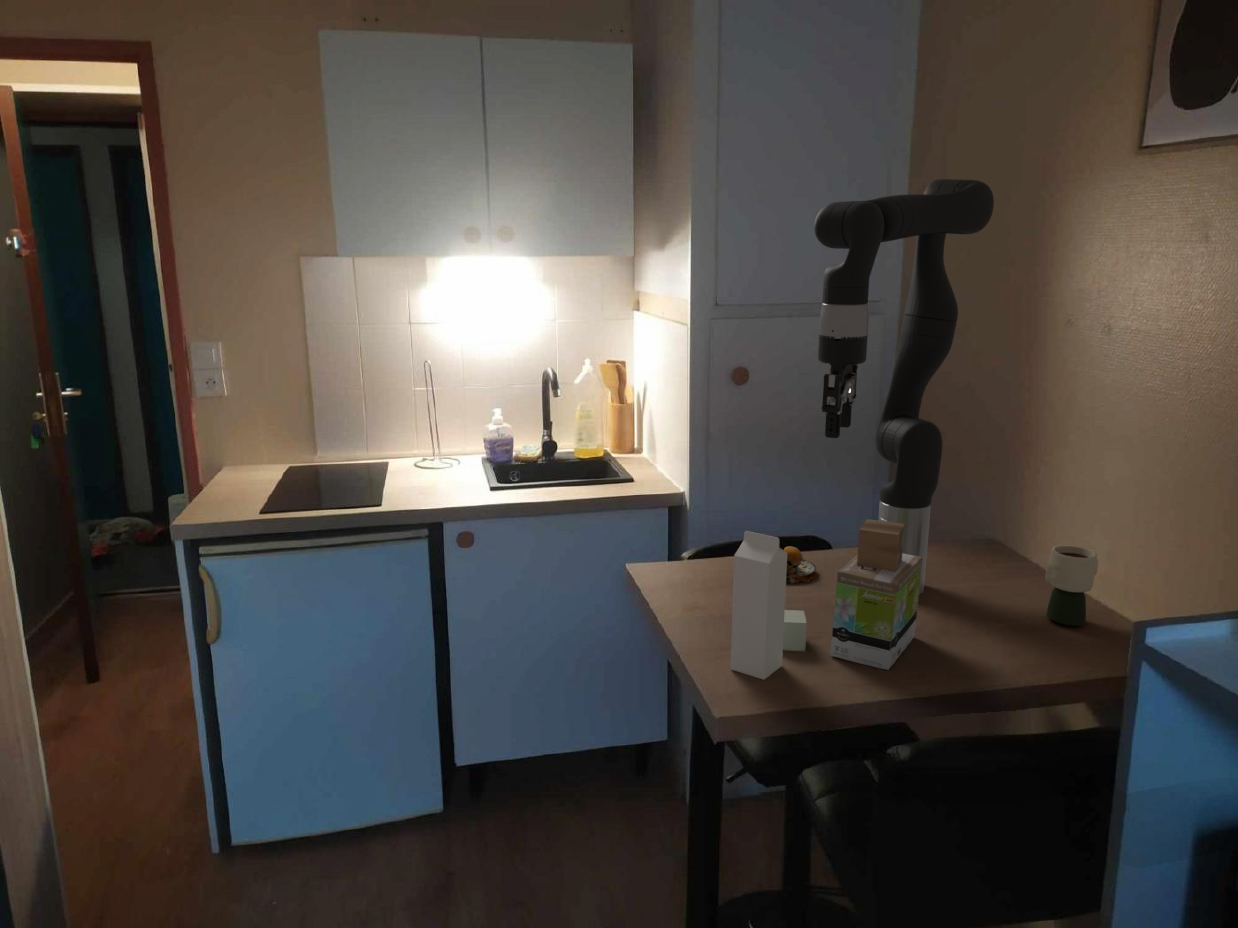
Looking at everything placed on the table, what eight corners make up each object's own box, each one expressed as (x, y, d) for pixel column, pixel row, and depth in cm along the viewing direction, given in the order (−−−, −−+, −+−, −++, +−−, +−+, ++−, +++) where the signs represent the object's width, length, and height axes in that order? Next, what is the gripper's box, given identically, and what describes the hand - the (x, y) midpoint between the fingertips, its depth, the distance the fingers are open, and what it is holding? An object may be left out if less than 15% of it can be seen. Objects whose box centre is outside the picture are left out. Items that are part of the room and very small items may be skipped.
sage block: (772, 637, 158) (773, 609, 156) (802, 638, 157) (803, 610, 156) (774, 650, 153) (775, 621, 152) (805, 651, 152) (806, 622, 151)
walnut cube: (864, 553, 154) (866, 519, 153) (901, 559, 152) (904, 524, 150) (856, 565, 149) (859, 529, 147) (895, 571, 146) (898, 534, 145)
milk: (748, 656, 150) (753, 525, 145) (782, 666, 147) (789, 532, 142) (729, 670, 146) (734, 535, 140) (764, 680, 142) (770, 542, 137)
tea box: (891, 672, 145) (898, 583, 141) (828, 657, 150) (834, 570, 146) (916, 637, 157) (923, 554, 154) (857, 624, 163) (863, 543, 159)
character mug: (1073, 609, 169) (1082, 541, 165) (1105, 625, 162) (1115, 554, 159) (1025, 617, 165) (1033, 548, 162) (1055, 634, 159) (1064, 561, 155)
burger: (785, 560, 194) (787, 526, 193) (828, 577, 185) (830, 541, 183) (743, 572, 188) (744, 536, 186) (785, 590, 178) (787, 553, 177)
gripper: (829, 327, 156) (825, 422, 160) (809, 336, 144) (804, 439, 148) (875, 328, 153) (869, 425, 157) (858, 338, 141) (852, 443, 145)
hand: (838, 432), depth 153 cm, fingers open, 8 cm apart
